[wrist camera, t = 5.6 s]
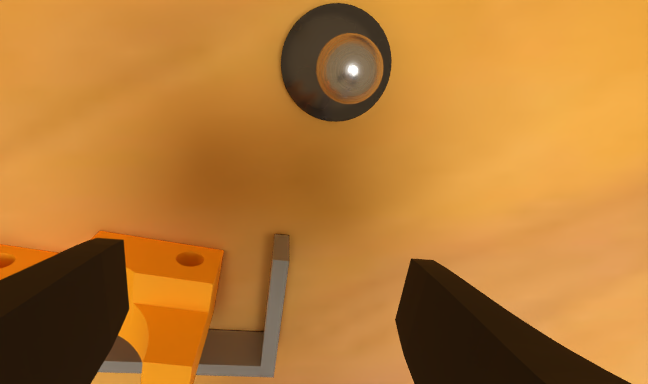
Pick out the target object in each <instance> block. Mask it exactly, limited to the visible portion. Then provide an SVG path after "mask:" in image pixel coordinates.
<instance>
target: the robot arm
mask: <svg viewBox="0 0 648 384" xmlns="http://www.w3.org/2000/svg"><path fill="white" fill-rule="evenodd" d="M128 311H129V298H128V286H127V274H126V262H125V250H124V240H122V239H107V238H94V239H92V240H89V241H86V242H84V243H81V244H79V245H76V246H74V247H72V248H70V249H67V250H65V251H63V252H61V253H58V254H56V255H54V256H52V257H50V258H47V259H45V260H43V261H41V262H39V263H37V264H34V265H32V266H30V267H28V268H26V269H23V270H21V271H19V272H17V273H15V274H12V275H10V276H8V277H6V278H4V279H1V280H0V384H91V382H92V380H93V379H94V377H95V375H96V374H97V372H98V371H99V369H100V367H101V366H102V364H103V362H104V361H105V359H106V357H107V356H108V354H109V352H110V350H111V349H112V347H113V345H114V342H115V340H116V338H117V336H118V334H119V332H120V330H121V327H122V325H123V323H124V320H125V318H126V316H127V313H128ZM395 321H396V325H397V330H398V334H399V338H400V342H401V346H402V350H403V354H404V357H405V360H406V363H407V365H408V368H409V370H410V373H411V376H412V378H413V381H414V384H631V383H629V382H627V381H625V380H623V379H621V378H620V377H618V376H616V375H614V374H612V373H610V372H608V371H606V370H605V369H603V368H601V367H599V366H597V365H596V364H594V363H592V362H590V361H589V360H587V359H585V358H583V357H581V356H580V355H578V354H576V353H574V352H572V351H571V350H569V349H567V348H566V347H564V346H562V345H561V344H559V343H557V342H556V341H554V340H552V339H551V338H549V337H547V336H546V335H544V334H543V333H541V332H540V331H538V330H537V329H535V328H533V327H532V326H530V325H529V324H527V323H526V322H524V321H522V320H521V319H519V318H518V317H516V316H515V315H513V314H512V313H510V312H509V311H507V310H506V309H504V308H503V307H502V306H500V305H499V304H497V303H496V302H494V301H493V300H491V299H490V298H489V297H487V296H486V295H484V294H483V293H481V292H480V291H479V290H477V289H476V288H474V287H473V286H471V285H470V284H469V283H467V282H466V281H464V280H463V279H462V278H460V277H459V276H457V275H456V274H454V273H453V272H451V271H450V270H448V269H447V268H445V267H444V266H442V265H441V264H439V263H437V262H435V261H434V260H424V259H411V261H410V265H409V269H408V273H407V276H406V280H405V284H404V288H403V292H402V296H401V300H400V304H399V307H398V311H397V315H396V319H395Z"/></svg>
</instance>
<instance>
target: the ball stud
mask: <svg viewBox="0 0 648 384" xmlns="http://www.w3.org/2000/svg"><path fill="white" fill-rule="evenodd" d="M281 70H282V76H283V81H284V83H285V86H286V89H287V91H288V93H289V95H290V96H291V98H292V99H293V100H294V102H295V103H296V104H297V105H298V106H299V107H300V108H301V109H302V110H303V111H305V112H306V113H308V114H309V115H311V116H313V117H315V118H318V119H321V120H326V121H335V122H336V121H345V120H349V119H352V118H355V117H357V116H359V115H361V114H363V113H365V112H366V111H368V110H369V109H370V108H371V107H372V106H373V105H374V104H375V103H376V102H377V101H378V100H379V98H380V97H381V95H382V94H383V92H384V90H385V88H386V86H387V83H388V80H389V76H390V71H391V51H390V46H389V43H388V40H387V37H386V35H385V33H384V31H383V29H382V28H381V27H380V25H379V24H378V23H377V21H376V20H375V19H374V18H373V17H372V16H370V15H369V14H368V13H367V12H365V11H363V10H362V9H360V8H357V7H355V6H352V5H348V4H341V3H333V4H326V5H322V6H319V7H317V8H315V9H313V10H311V11H309V12H308V13H306V14H305V15H303V16H302V17H301V18H300V19H299V20H298V21H297V22H296V23H295V25H294V26H293V27H292V29H291V30H290V32H289V34H288V36H287V38H286V40H285V43H284V46H283V50H282V56H281Z"/></svg>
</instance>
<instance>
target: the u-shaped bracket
mask: <svg viewBox="0 0 648 384" xmlns="http://www.w3.org/2000/svg"><path fill="white" fill-rule="evenodd" d="M288 266H289V235H279V234H275V237H274V245H273V254H272V263H271V272H270V281H269V290H268V298H267V307H266V316H265V325H264V332H253V331H232V330H211V329H209V330H208V333H207V337H206V340H205V344H204V347H203V351H202V354H201V358H200V361H199V365H198V369H197V372H196V375H214V376H248V377H274V370H275V363H276V356H277V348H278V341H279V333H280V326H281V318H282V311H283V303H284V296H285V288H286V281H287V274H288ZM98 372H113V373H142V360H141V358H140V356H139V354H138V352H137V351H136V350H135V349H134V347H133V346H132V345H131V344H130V343H129V342H128V341H126V340H125V339H123V338H122V337H120V336H117V338H116V340H115V342H114V345H113V347H112V349H111V350H110V352H109V354H108V356H107V357H106V359H105V361H104V362H103V364H102V366H101V367H100V369H99V371H98Z"/></svg>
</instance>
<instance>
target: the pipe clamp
mask: <svg viewBox="0 0 648 384" xmlns="http://www.w3.org/2000/svg"><path fill="white" fill-rule="evenodd" d="M94 238H107V239H122V240H124V250H125V262H126V274H127V286H128V298H129V311H128V313H127V316H126V318H125V320H124V323H123V325H122V327H121V330H120V332H119V334H118V336H120V337H122V338H123V339H125V340H126V341H128V342H129V343H130V344H131V345H132V346H133V347H134V349H135V350H136V351H137V352H138V354H139V356H140V358H141V360H142V375H141V384H193V383H194V379H195V376H196V372H197V369H198V365H199V361H200V358H201V354H202V351H203V347H204V344H205V340H206V337H207V333H208V330H209V326H210V323H211V319H212V316H213V312H214V307H215V301H216V295H217V289H218V283H219V277H220V271H221V265H222V259H223V253H224V250H218V249H212V248H206V247H200V246H193V245H187V244H181V243H174V242H168V241H162V240H155V239H149V238H143V237H136V236H130V235H124V234H117V233H111V232H105V231H99V232H98V233H97V234H96V235H95V236H94V237H93V238H92V239H94ZM92 239H91V240H92ZM56 254H58V253H57V252H50V251H43V250H36V249H29V248H22V247H16V246H9V245H2V244H0V280H1V279H4V278H6V277H8V276H10V275H12V274H15V273H17V272H19V271H21V270H23V269H26V268H28V267H30V266H32V265H34V264H37V263H39V262H41V261H43V260H45V259H47V258H50V257H52V256H54V255H56Z"/></svg>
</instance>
